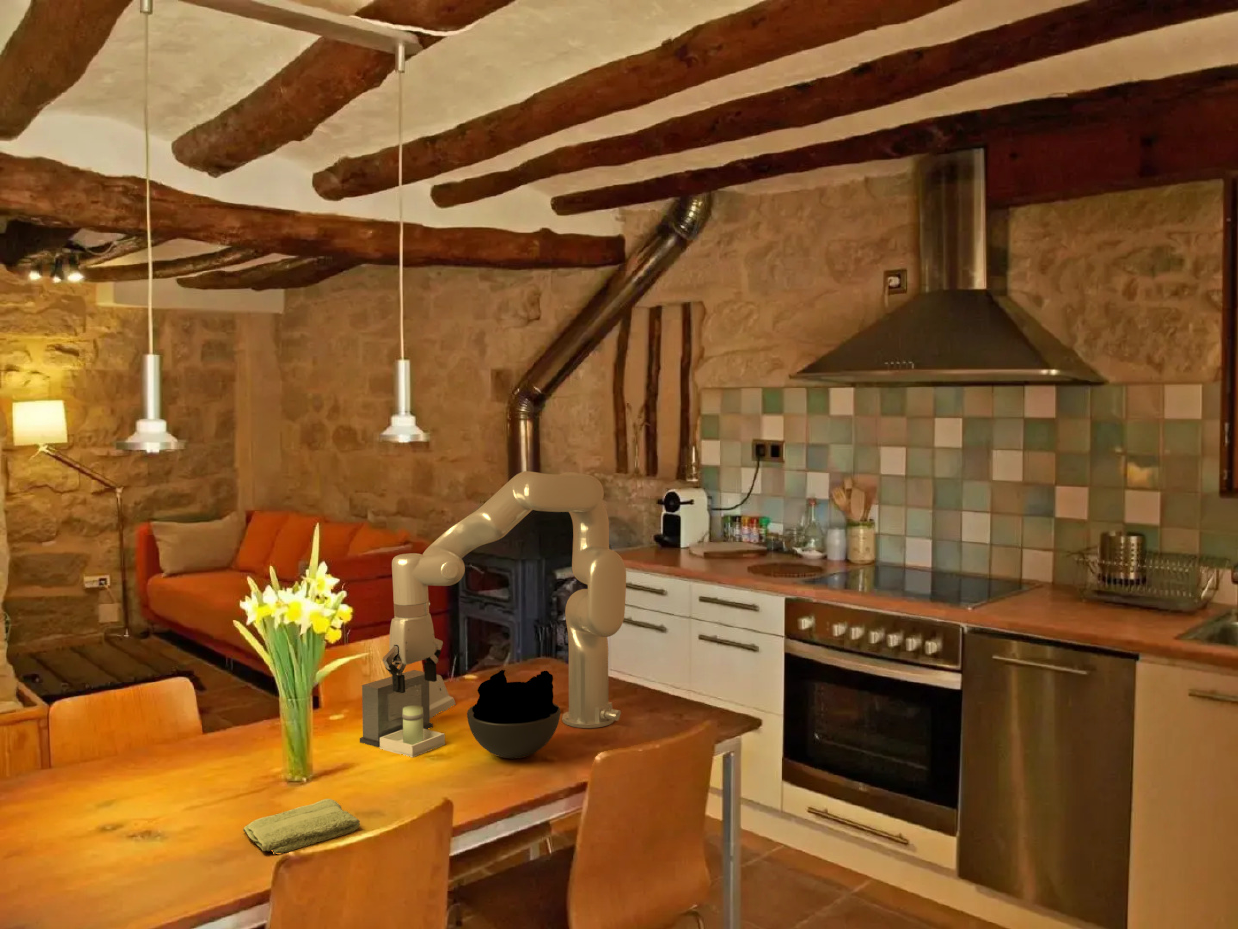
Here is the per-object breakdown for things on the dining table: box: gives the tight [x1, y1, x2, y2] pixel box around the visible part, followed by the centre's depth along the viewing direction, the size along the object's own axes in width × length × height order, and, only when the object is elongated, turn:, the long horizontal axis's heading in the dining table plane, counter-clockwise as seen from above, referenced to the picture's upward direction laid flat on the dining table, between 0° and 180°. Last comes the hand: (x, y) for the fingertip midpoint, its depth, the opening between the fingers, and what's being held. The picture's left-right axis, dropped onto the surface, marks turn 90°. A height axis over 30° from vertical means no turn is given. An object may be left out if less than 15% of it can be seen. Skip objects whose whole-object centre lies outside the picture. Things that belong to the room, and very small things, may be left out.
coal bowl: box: [466, 669, 561, 759], centre depth 221 cm, size 20×20×19 cm
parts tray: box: [379, 729, 446, 758], centre depth 228 cm, size 10×10×2 cm
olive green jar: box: [402, 705, 424, 745], centre depth 228 cm, size 5×5×8 cm
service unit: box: [359, 669, 434, 748], centre depth 236 cm, size 6×17×13 cm, turn 146°
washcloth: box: [242, 798, 361, 855], centre depth 182 cm, size 13×18×3 cm
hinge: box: [429, 674, 456, 719], centre depth 254 cm, size 17×5×10 cm, turn 158°
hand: (415, 686), depth 227 cm, fingers open, 9 cm apart
